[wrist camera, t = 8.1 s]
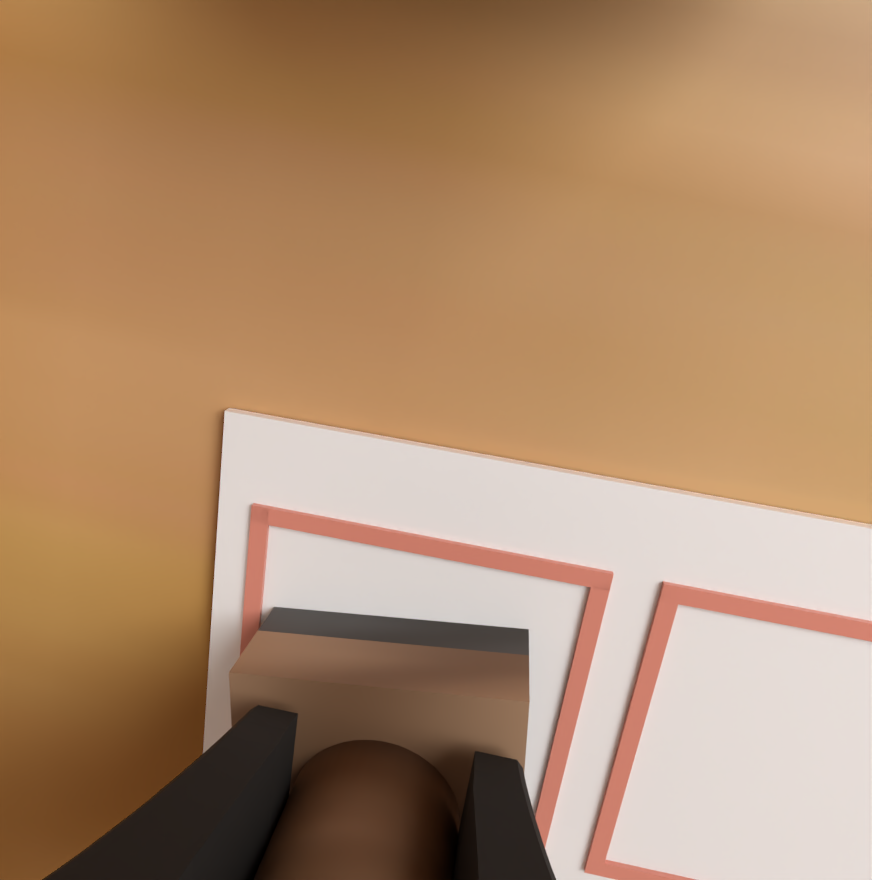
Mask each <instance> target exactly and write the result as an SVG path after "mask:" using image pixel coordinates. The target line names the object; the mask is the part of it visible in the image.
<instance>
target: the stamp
mask: <svg viewBox="0 0 872 880" xmlns="http://www.w3.org/2000/svg"><path fill="white" fill-rule="evenodd" d="M229 686H230V705H231V724H232V727H233V726H234V725H235V724H236V723H237V722H238V721H239V720H240V719H241V718H242V717H243V716H244V715H245V714H246V713H247V712H248V711H249V710H251V709H252V708H254V707H256V706H257V705H261V706H266V707H270V708H275V709H280V710H284V711H289V712H294V713H298V719H297V728H296V737H295V746H294V755H293V764H292V773H291V782H290V791H289V797H288V799H287V802H286V804H285V807H284V809H283V811H282V814H281V816H280V818H279V821H278V823H277V825H276V828H275V830H274V832H273V835H272V837H271V839H270V842H269V844H268V846H267V849H266V851H265V853H264V856H263V858H262V860H261V863H260V865H259V867H258V870H257V872H256V874H255V877H254V879H253V880H453V874H454V865H455V857H456V848H457V839H458V832H459V827H460V822H461V818H462V813H463V808H464V803H465V798H466V793H467V788H468V783H469V778H470V773H471V768H472V763H473V758H474V753H475V751H478V752H483V753H488V754H492V755H497V756H502V757H506V758H511V759H516V760H518V762H519V763H520V765H521V766H522V767H523V771H524V770H525V756H526V743H527V730H528V717H529V703H530V695H529V629H521V628H510V627H498V626H487V625H476V624H464V623H453V622H442V621H430V620H419V619H408V618H396V617H385V616H373V615H362V614H351V613H339V612H328V611H317V610H305V609H294V608H283V607H274V608H273V609H272V611H271V612H270V614H269V615H268V617H267V618H266V619H265V621H264V622H263V624H262V625H261V627H260V628H259V630H258V631H257V632H256V634H255V635H254V637H253V638H252V640H251V641H250V642H249V644H248V645H247V647H246V648H245V650H244V651H243V653H242V654H241V655H240V657H239V658H238V660H237V661H236V663H235V664H234V666H233V667H232V668H231V670H230V671H229Z"/></svg>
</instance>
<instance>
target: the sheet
mask: <svg viewBox="0 0 872 880" xmlns="http://www.w3.org/2000/svg"><path fill="white" fill-rule="evenodd" d="M274 607H283V608H294V609H305V610H317V611H328V612H339V613H351V614H362V615H373V616H385V617H396V618H408V619H419V620H430V621H442V622H453V623H464V624H476V625H487V626H498V627H510V628H521V629H529V695H530V703H529V717H528V730H527V743H526V756H525V770H524V776H525V781H526V785H527V789H528V793H529V797H530V801H531V805H532V808H533V812H534V815H535V819H536V822H537V825H538V828H539V831H540V835H541V838H542V841H543V844H544V847H545V850H546V853H547V856H548V859H549V862H550V865H551V867H552V870H553V873H554V875H555V878H556V880H872V524H866V523H861V522H855V521H850V520H844V519H839V518H833V517H828V516H822V515H817V514H811V513H806V512H800V511H795V510H789V509H784V508H778V507H773V506H767V505H762V504H756V503H751V502H745V501H740V500H734V499H729V498H723V497H718V496H712V495H707V494H701V493H696V492H690V491H685V490H679V489H674V488H668V487H663V486H657V485H652V484H646V483H641V482H635V481H630V480H624V479H619V478H613V477H608V476H602V475H597V474H591V473H586V472H580V471H575V470H569V469H564V468H558V467H553V466H547V465H541V464H536V463H530V462H525V461H519V460H514V459H508V458H503V457H497V456H492V455H486V454H481V453H475V452H470V451H464V450H459V449H453V448H448V447H442V446H437V445H431V444H426V443H420V442H415V441H409V440H404V439H398V438H393V437H387V436H382V435H376V434H371V433H365V432H360V431H354V430H349V429H343V428H338V427H332V426H327V425H321V424H316V423H310V422H305V421H299V420H294V419H288V418H283V417H277V416H272V415H266V414H261V413H255V412H250V411H244V410H239V409H233V408H229V409H227V410H225V414H224V430H223V445H222V461H221V477H220V493H219V508H218V524H217V540H216V555H215V571H214V587H213V603H212V618H211V634H210V650H209V665H208V681H207V697H206V712H205V728H204V744H203V753H204V752H205V751H207V750H208V749H209V748H210V747H211V746H212V745H213V744H214V743H215V742H217V741H218V740H219V739H220V738H221V737H222V736H223V735H224V734H225V733H226V732H227V731H228V730H229V729H231V728H232V724H231V705H230V686H229V671H230V670H231V668H232V667H233V666H234V664H235V663H236V661H237V660H238V658H239V657H240V655H241V654H242V653H243V651H244V650H245V648H246V647H247V645H248V644H249V642H250V641H251V640H252V638H253V637H254V635H255V634H256V632H257V631H258V630H259V628H260V627H261V625H262V624H263V622H264V621H265V619H266V618H267V617H268V615H269V614H270V612H271V611H272V609H273V608H274Z"/></svg>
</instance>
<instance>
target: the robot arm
mask: <svg viewBox="0 0 872 880" xmlns="http://www.w3.org/2000/svg"><path fill="white" fill-rule="evenodd" d="M297 719H298V713H294V712H289V711H284V710H280V709H275V708H270V707H266V706H261V705H257V706H256V707H254V708H252V709H251V710H249V711H248V712H247V713H246V714H245V715H244V716H243V717H242V718H241V719H240V720H239V721H238V722H237V723H236V724H235V725H234V726H233V727H232V728H231V729H229V730H228V731H227V732H226V733H225V734H224V735H223V736H222V737H221V738H220V739H219V740H218V741H217V742H215V743H214V744H213V745H212V746H211V747H210V748H209V749H208V750H207V751H205V752H204V753H203V754H202V755H201V756H200V757H199V758H198V759H197V760H195V761H194V762H193V763H192V764H191V765H190V766H189V767H187V768H186V769H185V770H184V771H183V772H182V773H180V774H179V775H178V776H177V777H176V778H174V779H173V780H172V781H171V782H170V783H169V784H167V785H166V786H165V787H164V788H163V789H161V790H160V791H159V792H158V793H157V794H155V795H154V796H153V797H152V798H151V799H150V800H148V801H147V802H146V803H145V804H143V805H142V806H141V807H140V808H138V809H137V810H136V811H135V812H133V813H132V814H131V815H129V816H128V817H127V818H126V819H124V820H123V821H122V822H120V823H119V824H118V825H116V826H115V827H114V828H112V829H111V830H110V831H109V832H107V833H106V834H105V835H103V836H102V837H101V838H99V839H98V840H97V841H95V842H94V843H93V844H92V845H90V846H89V847H88V848H86V849H85V850H84V851H82V852H81V853H79V854H78V855H77V856H75V857H74V858H72V859H71V860H70V861H68V862H67V863H65V864H64V865H63V866H61V867H60V868H58V869H57V870H56V871H54V872H53V873H51V874H50V875H48V876H47V877H45V878H44V879H42V880H253V879H254V877H255V874H256V872H257V870H258V867H259V865H260V863H261V860H262V858H263V856H264V853H265V851H266V849H267V846H268V844H269V842H270V839H271V837H272V835H273V832H274V830H275V828H276V825H277V823H278V821H279V818H280V816H281V814H282V811H283V809H284V807H285V804H286V802H287V799H288V797H289V791H290V782H291V773H292V764H293V755H294V746H295V737H296V728H297ZM453 880H556V878H555V875H554V873H553V870H552V867H551V865H550V862H549V859H548V856H547V853H546V850H545V847H544V844H543V841H542V838H541V835H540V831H539V828H538V825H537V822H536V819H535V815H534V812H533V808H532V805H531V801H530V797H529V793H528V789H527V785H526V781H525V776H524V771H523V767H522V766H521V765H520V763H519V762H518V760H516V759H511V758H506V757H502V756H497V755H492V754H488V753H483V752H478V751H475V753H474V758H473V763H472V768H471V773H470V778H469V783H468V788H467V793H466V798H465V803H464V808H463V813H462V818H461V822H460V827H459V832H458V839H457V848H456V857H455V865H454V874H453Z"/></svg>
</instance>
